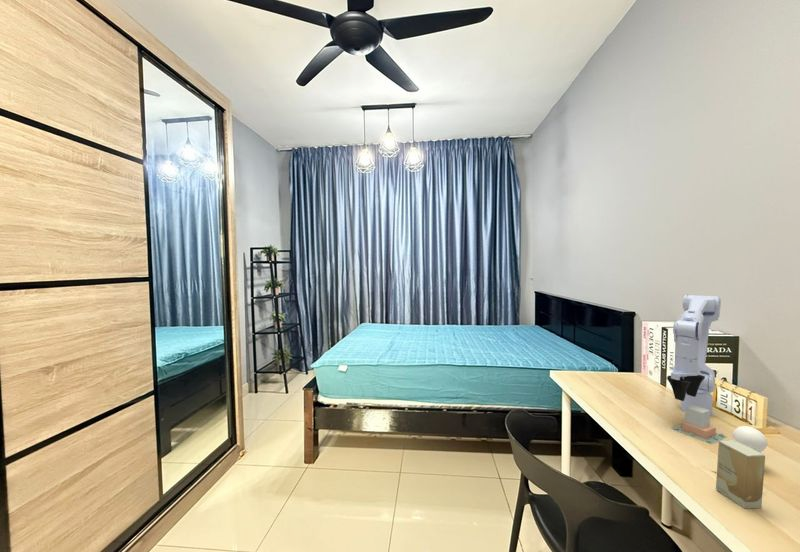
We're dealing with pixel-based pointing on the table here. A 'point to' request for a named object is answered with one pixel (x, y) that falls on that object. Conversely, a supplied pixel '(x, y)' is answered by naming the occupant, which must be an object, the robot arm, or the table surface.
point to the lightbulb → (750, 438)
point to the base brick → (699, 430)
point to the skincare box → (740, 473)
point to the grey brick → (697, 416)
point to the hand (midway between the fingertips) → (685, 397)
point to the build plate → (709, 440)
